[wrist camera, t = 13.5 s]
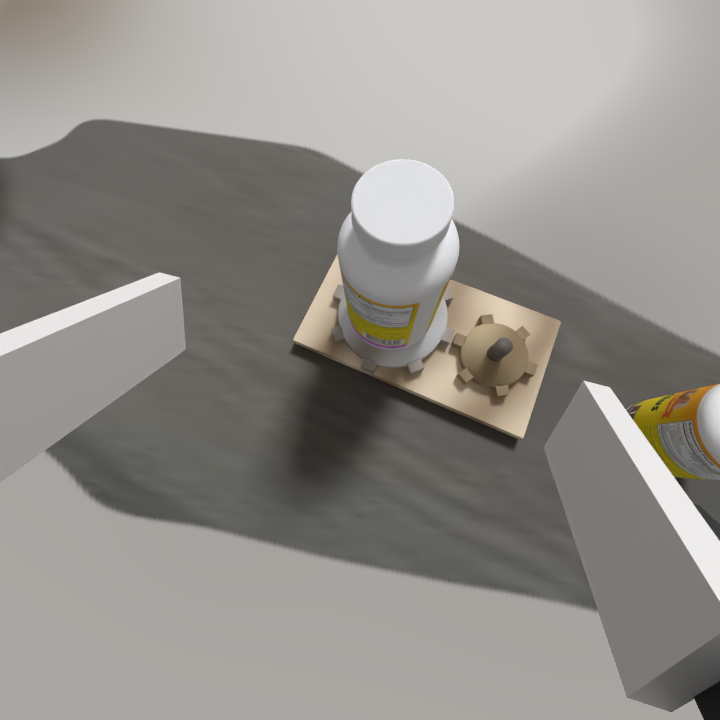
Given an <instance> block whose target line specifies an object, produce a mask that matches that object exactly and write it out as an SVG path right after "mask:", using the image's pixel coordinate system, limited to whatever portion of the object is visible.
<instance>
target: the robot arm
mask: <svg viewBox="0 0 720 720" xmlns="http://www.w3.org/2000/svg"><path fill="white" fill-rule="evenodd" d="M184 350H186V344H185V331H184V319H183V306H182V293H181V280H180V278H179V277H175V276H171V275H167V274H163V273H157V274H154V275H152V276H149V277H146V278H144V279H141V280H139V281H136V282H133V283H131V284H128V285H126V286H123V287H120V288H118V289H115V290H113V291H110V292H107V293H105V294H102V295H99V296H97V297H94V298H92V299H89V300H86V301H84V302H81V303H79V304H76V305H73V306H71V307H68V308H66V309H63V310H60V311H58V312H55V313H53V314H50V315H47V316H45V317H42V318H40V319H37V320H34V321H32V322H29V323H27V324H24V325H21V326H19V327H16V328H14V329H11V330H8V331H6V332H3V333H1V334H0V482H1V481H2V480H4V479H5V478H7V477H8V476H10V475H11V474H12V473H14V472H15V471H16V470H18V469H19V468H21V467H22V466H24V465H25V464H26V463H28V462H29V461H31V460H32V459H33V458H35V457H36V456H38V455H39V454H40V453H42V452H43V451H45V450H46V449H47V448H49V447H50V446H51V445H53V444H54V443H56V442H57V441H58V440H60V439H61V438H63V437H64V436H65V435H67V434H68V433H70V432H71V431H72V430H74V429H75V428H77V427H78V426H79V425H81V424H82V423H84V422H85V421H86V420H88V419H89V418H91V417H92V416H93V415H95V414H96V413H98V412H99V411H100V410H102V409H103V408H105V407H106V406H107V405H109V404H110V403H112V402H113V401H114V400H116V399H117V398H119V397H120V396H121V395H123V394H124V393H126V392H127V391H128V390H130V389H131V388H132V387H134V386H135V385H137V384H138V383H139V382H141V381H142V380H144V379H145V378H146V377H148V376H149V375H151V374H152V373H153V372H155V371H156V370H158V369H159V368H160V367H162V366H163V365H165V364H166V363H167V362H169V361H170V360H172V359H173V358H174V357H176V356H177V355H179V354H180V353H181V352H183V351H184ZM544 450H545V453H546V456H547V459H548V462H549V465H550V468H551V471H552V474H553V477H554V480H555V483H556V486H557V489H558V492H559V495H560V498H561V501H562V504H563V507H564V510H565V513H566V516H567V519H568V522H569V525H570V528H571V531H572V534H573V537H574V540H575V543H576V546H577V549H578V552H579V555H580V558H581V561H582V564H583V567H584V570H585V573H586V576H587V579H588V582H589V585H590V588H591V591H592V594H593V597H594V600H595V603H596V606H597V609H598V612H599V615H600V618H601V621H602V624H603V627H604V630H605V633H606V636H607V639H608V642H609V645H610V647H611V651H612V654H613V657H614V660H615V663H616V666H617V669H618V671H619V674H620V678H621V680H622V684H623V686H624V690H625V692H626V696H627V698H630V699H634V700H637V701H640V702H643V703H646V704H649V705H652V706H655V707H658V708H661V709H664V710H667V711H670V712H672V711H674V710H676V709H678V708H679V707H681V706H683V705H684V704H686V703H688V702H690V701H691V700H693V699H695V701H696V703H697V705H698V708H699V710H700V712H701V714H702V716H703V718H704V720H720V524H719V523H718V522H717V521H716V520H715V519H713V518H712V517H711V516H710V515H709V514H708V513H707V512H706V511H705V510H704V509H703V508H701V507H700V506H699V505H695V504H693V503H692V502H691V500H690V499H689V497H688V496H687V495H686V493H685V492H684V490H683V489H682V488H681V486H680V485H679V484H678V482H677V481H676V479H675V478H674V477H673V475H672V474H671V472H670V471H669V470H668V468H667V467H666V465H665V464H664V463H663V461H662V460H661V458H660V457H659V456H658V454H657V453H656V451H655V450H654V449H653V447H652V446H651V444H650V443H649V442H648V440H647V439H646V437H645V436H644V435H643V433H642V432H641V430H640V429H639V428H638V426H637V425H636V423H635V422H634V421H633V419H632V418H631V416H630V415H629V414H628V412H627V411H626V410H625V408H624V407H623V405H622V404H621V403H620V401H619V400H618V398H617V397H616V396H615V394H614V393H613V391H612V390H611V389H610V387H606V386H602V385H598V384H594V383H590V382H586V381H583V382H582V384H581V385H580V387H579V389H578V390H577V392H576V394H575V396H574V397H573V399H572V401H571V402H570V404H569V406H568V407H567V409H566V411H565V412H564V414H563V416H562V417H561V419H560V421H559V422H558V424H557V426H556V428H555V429H554V431H553V433H552V434H551V436H550V438H549V439H548V441H547V443H546V444H545V446H544Z"/></svg>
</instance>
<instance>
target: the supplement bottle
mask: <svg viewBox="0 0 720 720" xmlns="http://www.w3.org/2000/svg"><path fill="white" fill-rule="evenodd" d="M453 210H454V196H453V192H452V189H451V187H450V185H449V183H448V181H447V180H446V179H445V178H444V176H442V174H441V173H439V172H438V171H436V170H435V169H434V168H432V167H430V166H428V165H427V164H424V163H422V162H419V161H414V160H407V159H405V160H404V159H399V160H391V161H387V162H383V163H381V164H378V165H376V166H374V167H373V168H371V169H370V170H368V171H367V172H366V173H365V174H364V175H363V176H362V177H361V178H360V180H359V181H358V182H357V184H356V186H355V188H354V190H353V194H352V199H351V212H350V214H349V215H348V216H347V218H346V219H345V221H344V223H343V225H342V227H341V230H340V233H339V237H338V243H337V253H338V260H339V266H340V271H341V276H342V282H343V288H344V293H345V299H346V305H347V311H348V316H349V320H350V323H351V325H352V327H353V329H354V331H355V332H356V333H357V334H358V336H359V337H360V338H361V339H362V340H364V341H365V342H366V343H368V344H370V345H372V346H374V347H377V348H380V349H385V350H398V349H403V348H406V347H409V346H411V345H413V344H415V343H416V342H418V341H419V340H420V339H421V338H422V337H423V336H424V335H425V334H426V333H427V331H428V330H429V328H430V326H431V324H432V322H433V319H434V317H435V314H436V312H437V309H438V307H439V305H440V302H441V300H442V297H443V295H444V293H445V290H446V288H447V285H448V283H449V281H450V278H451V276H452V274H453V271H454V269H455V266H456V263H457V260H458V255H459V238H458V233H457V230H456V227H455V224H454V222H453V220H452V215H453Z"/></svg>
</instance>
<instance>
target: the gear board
mask: <svg viewBox="0 0 720 720" xmlns="http://www.w3.org/2000/svg"><path fill="white" fill-rule="evenodd" d="M560 323H561V321H559V320H556V319H554V318H551V317H548V316H546V315H543V314H541V313H538V312H535V311H533V310H530V309H527V308H525V307H522V306H519V305H517V304H514V303H511V302H509V301H506V300H504V299H501V298H498V297H496V296H493V295H490V294H488V293H485V292H482V291H480V290H477V289H475V288H472V287H469V286H467V285H464V284H461V283H459V282H456V281H453V280H451V279H450V281H449V283H448V285H447V288H446V290H445V293H444V295H443V297H442V300H441V302H440V305H439V307H438V309H437V312H436V314H435V317H434V319H433V322H432V324H431V326H430V328H429V330H428V331H427V333H426V334H425V335H424V336H423V337H422V338H421V339H420V340H419V341H418V342H416V343H415V344H413V345H411V346H409V347H406V348H403V349H398V350H385V349H380V348H377V347H374V346H372V345H370V344H368V343H366V342H365V341H364V340H362V339H361V338H360V337H359V336H358V334H357V333H356V332H355V331H354V329H353V327H352V325H351V323H350V320H349V316H348V311H347V305H346V299H345V293H344V288H343V282H342V276H341V271H340V266H339V260H338V254H337V256H336V258H335V260H334V262H333V264H332V266H331V268H330V270H329V272H328V273H327V275H326V277H325V279H324V281H323V283H322V285H321V287H320V289H319V291H318V293H317V295H316V297H315V298H314V300H313V302H312V304H311V306H310V308H309V310H308V312H307V314H306V316H305V318H304V320H303V322H302V324H301V325H300V327H299V329H298V331H297V333H296V335H295V337H294V339H293V341H294V342H295V344H297V345H300V346H302V347H304V348H307V349H309V350H311V351H314V352H316V353H318V354H321V355H323V356H325V357H328V358H330V359H332V360H335V361H337V362H339V363H342V364H344V365H346V366H349V367H351V368H353V369H356V370H358V371H360V372H363V373H365V374H367V375H370V376H372V377H374V378H377V379H379V380H381V381H384V382H386V383H388V384H391V385H393V386H395V387H398V388H400V389H402V390H405V391H407V392H409V393H412V394H414V395H416V396H419V397H421V398H423V399H426V400H428V401H430V402H433V403H435V404H437V405H440V406H442V407H444V408H447V409H449V410H451V411H454V412H456V413H458V414H461V415H463V416H465V417H468V418H470V419H472V420H475V421H477V422H479V423H482V424H484V425H486V426H489V427H491V428H493V429H496V430H498V431H500V432H503V433H505V434H507V435H510V436H512V437H514V438H517V439H521V438H523V437H524V434H525V431H526V428H527V425H528V422H529V419H530V416H531V413H532V410H533V407H534V403H535V400H536V397H537V394H538V391H539V388H540V385H541V382H542V379H543V376H544V373H545V370H546V366H547V363H548V360H549V357H550V354H551V351H552V348H553V345H554V342H555V339H556V336H557V333H558V330H559V326H560Z"/></svg>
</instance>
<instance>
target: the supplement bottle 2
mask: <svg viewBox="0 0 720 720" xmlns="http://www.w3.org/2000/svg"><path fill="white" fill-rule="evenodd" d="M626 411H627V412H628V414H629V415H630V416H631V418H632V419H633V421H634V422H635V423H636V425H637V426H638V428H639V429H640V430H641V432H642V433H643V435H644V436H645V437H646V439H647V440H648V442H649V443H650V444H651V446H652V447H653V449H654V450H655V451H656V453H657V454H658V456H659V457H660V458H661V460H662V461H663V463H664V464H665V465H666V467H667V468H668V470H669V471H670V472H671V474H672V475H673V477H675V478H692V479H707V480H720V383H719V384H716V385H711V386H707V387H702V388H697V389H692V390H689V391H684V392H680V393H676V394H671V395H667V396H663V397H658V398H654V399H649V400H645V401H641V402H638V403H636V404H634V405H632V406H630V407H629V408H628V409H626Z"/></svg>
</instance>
